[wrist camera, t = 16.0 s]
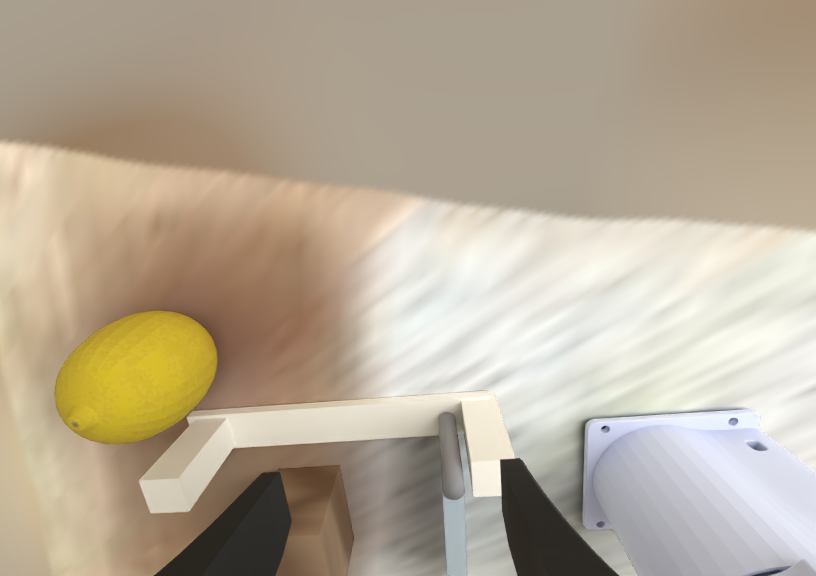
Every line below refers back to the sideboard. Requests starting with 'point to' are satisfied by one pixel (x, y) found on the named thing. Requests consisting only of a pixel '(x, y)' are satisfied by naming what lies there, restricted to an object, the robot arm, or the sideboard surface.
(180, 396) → the lemon
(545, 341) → the sideboard surface
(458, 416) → the white bracket
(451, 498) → the door
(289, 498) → the brown block
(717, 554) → the robot arm
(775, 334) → the sideboard surface
